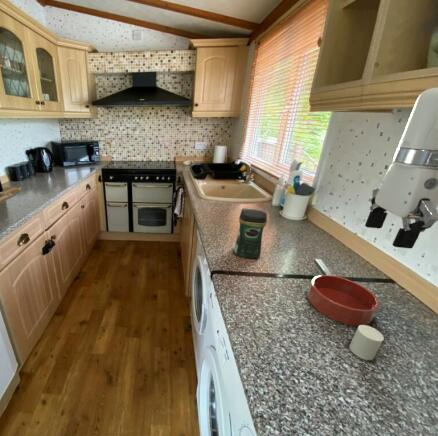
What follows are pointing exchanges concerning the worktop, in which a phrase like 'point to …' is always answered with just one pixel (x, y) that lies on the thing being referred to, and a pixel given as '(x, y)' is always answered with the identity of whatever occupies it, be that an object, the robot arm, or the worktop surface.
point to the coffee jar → (250, 233)
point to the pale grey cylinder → (366, 342)
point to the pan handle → (322, 267)
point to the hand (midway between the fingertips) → (386, 236)
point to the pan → (343, 300)
